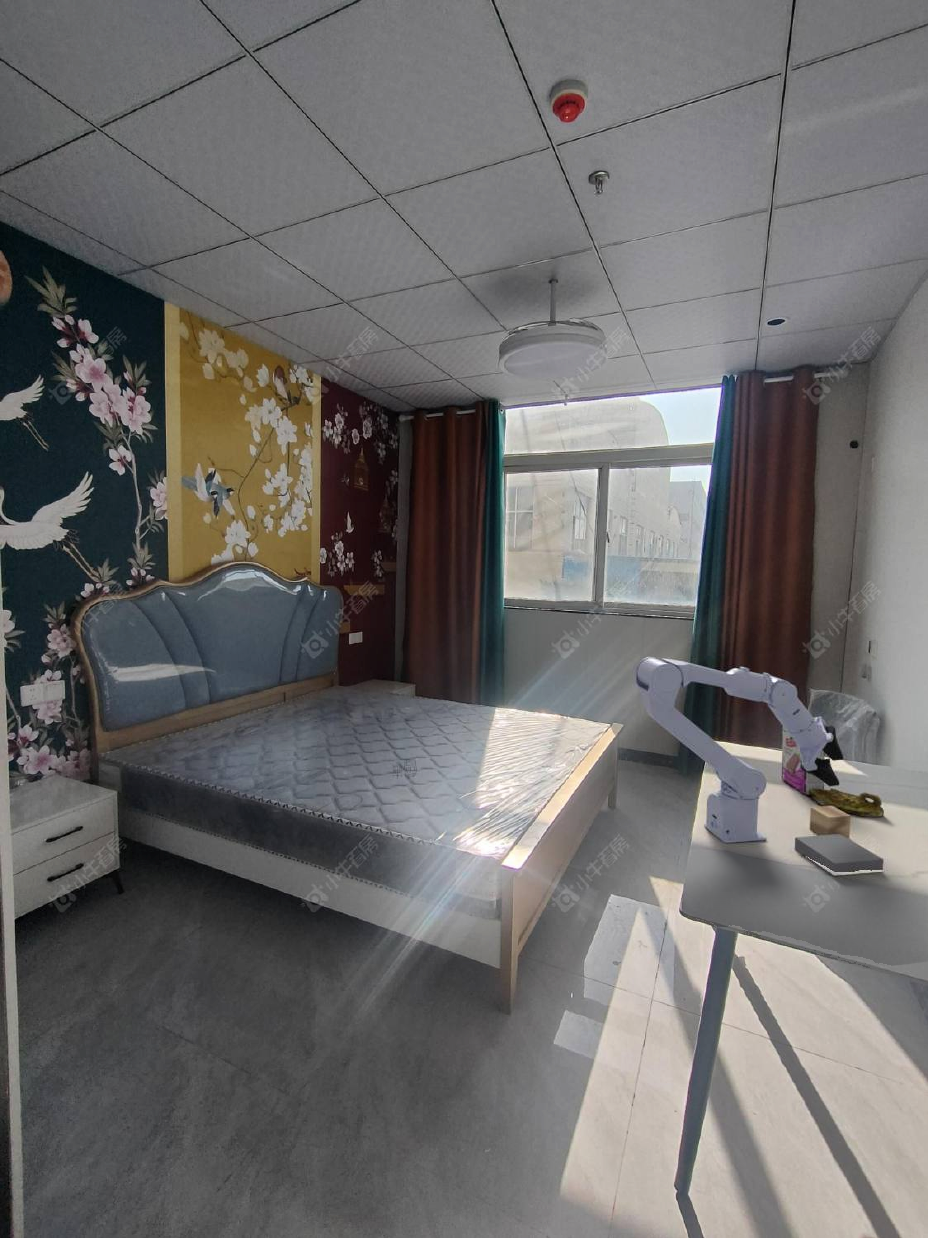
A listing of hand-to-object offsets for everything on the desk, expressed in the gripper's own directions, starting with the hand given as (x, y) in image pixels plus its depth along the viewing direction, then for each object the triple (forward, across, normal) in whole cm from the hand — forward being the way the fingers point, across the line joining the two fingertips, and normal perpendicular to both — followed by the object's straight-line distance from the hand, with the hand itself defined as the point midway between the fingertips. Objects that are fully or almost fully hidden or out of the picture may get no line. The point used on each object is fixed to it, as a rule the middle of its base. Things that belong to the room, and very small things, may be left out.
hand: (836, 771), depth 118 cm
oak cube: (+9, -8, +6) cm, 13 cm away
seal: (+17, +8, +8) cm, 21 cm away
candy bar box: (+15, +14, +18) cm, 28 cm away
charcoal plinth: (+5, -19, +1) cm, 19 cm away
